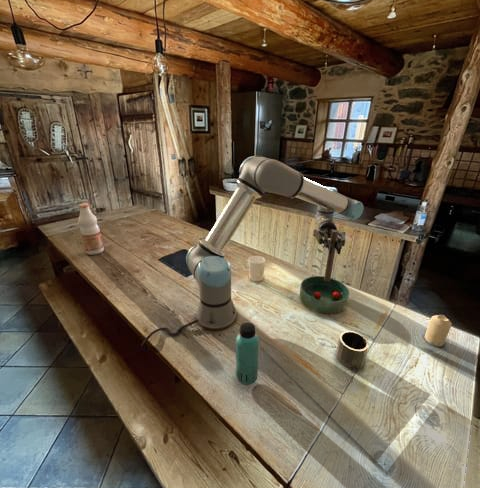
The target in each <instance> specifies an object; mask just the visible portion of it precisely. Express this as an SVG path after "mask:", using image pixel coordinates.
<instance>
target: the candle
mask: <svg viewBox="0 0 480 488" xmlns="http://www.w3.org/2000/svg"><path fill="white" fill-rule="evenodd" d="M452 325H453V324H452V322H451V320H450V319H448V318H447V316H445V315H444V314H438V315H437V314H435V315H433V316H431V318H430V321H429V324H428V326H427V329H426V332H425V334H424V340H425V341H426V342H427V343H428V344H429V345H432V346H435V347H443V346H444V344H445V342H446V339H447V337H448V336H449V332H450V330H451V327H452Z"/></svg>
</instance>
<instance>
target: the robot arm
mask: <svg viewBox="0 0 480 488" xmlns="http://www.w3.org/2000/svg"><path fill="white" fill-rule="evenodd" d="M238 172H239V175H238V178H237V180H236V188H235V191H234V192H233V193H232V195H231V197H230V198H229V200H228V201H227V203H226V205H225V207H224V209H223V210H222V211H221V214H220V215H219V217H218V218H217V219H216V222H215V223H214V225H213V226H212V228H211V229H210V231H209V233H208V234H207V236H206V237H205V238H204V239H200V241H199V242H198V243H197V244H196V245H193V246H191V248H189V250H188V251H187V254H186V257H185V260H186V261H185V263H186V266H187V269H188V270H189V272H190V273H191V274H192V276H193V278H194V279H195V282H196V283H197V285H198V289H199V303H198V306H197V309H196V314H195V317H196V319H195V320H193V321H191V322H189V323H186V324H184V325H182V326H180V327H179V328H178V329H177V331H176V332H172V331H171V330H170V329H169V328H168V327H165V326H164V327H159V328H157V329H154V330H153V331H151V332H150V333H149V334H148V335H147V336H146V337H145V339H144V340H143V341H142V343H141V346H142V347H143V346H145V345H146V343H147V342H148V341H149V339H150V338H151V337H152V336H153V335H154V334H155V333H157V332H160V331H166V332H167V333H168V334H169V335H170V336H172V337H175V336H177V335H179V334H180V333H181V331H182V330H183V329H185V328H187V327H189V326H191V325H194V324H196V323H198V325H199V326H201V327H202V328H204V329H207V330H211V331H221V330H224V329H227V328H229V327H230V326H231V325H233V324H234V323H235V322H236V319H237V310H236V306H235V304H234V302H233V299H232V268H231V264H230V262H229V261H228V260H227V259H226V258H225V257H226V253H225V252H226V251H225V249H226V248H227V246H228V244H229V243H230V241H231V240H232V238H233V236H234V235H235V233H236V232H237V230H238V228H239V227H240V225H241V223H242V222H243V220H244V219H245V217H246V215H247V214H248V212H249V211H250V209H251V208H252V206H253V204H254V202H255V201H256V200H257V199H261V198H263V196H264V194H265V192H266V193H271V194H275V195H278V196H283V197H287V198H289V199H294V198H296V199H300V200H302V201H305V202H307V203H309V204H312V205H316V206H317V210H316V214H315V218H314V221H315V223H316V226H317V229H313V232H312V236H313V237H315V240H316V241H317V243H318V244H319V245H323V248H325V249H327V251H329V253H330V254H331V253H332V244H331V241H330V239H331V232H332V230H338V228H337V225H336V223H335V221H334V215H335V213H336V214H338V215H341V216H343V217H346V218H347V219H351V220H356V219H358V218H360V217H361V216H362V215H363V212H364V209H365V208H364V204H363V202H361V201H360V200H359V201H358V200H357V199H353V198H351V197H348V196H345V194H344V195H343V194H341V193H339V192H338V189H337V188H336V187H331V186H323V185H321V184H320V183H317V182H315V181H312V180H310V179H308V178H306V177H304V174H303V173H302V172H300V171H298V170H296V169H294V168H292V167H290V166H288V165H287V164H285V163H283V162H281V161H279V160H277V159H274V158H273V159H272V158H268V157H265V156H261V155H252V156H248V157H247V158H245V159H244V160H243V161H242V163H241V164H240V167H239V170H238ZM345 245H346V231H341V232H340V231H339V230H338V237H337V243H336V249H335V251H336V253H337V255H341V251H342V249H343V247H345Z"/></svg>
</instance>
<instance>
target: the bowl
mask: <svg viewBox="0 0 480 488" xmlns="http://www.w3.org/2000/svg"><path fill="white" fill-rule="evenodd" d="M324 277H325V275H314V276H309V277H305V279H303V280H302V281H301V282H300V288H299V299H300V302H301V303H302V304H303V305H304V306H305V307H307V308H308V309H309V310H312V311H314V312H317V313H320V314H327V315H328V314H330V315H332V314H338V313H341V312H343V311H345V310H346V308H347V306H348V302H349V297H350V290H349V289H348V287H347V285H345V284H344V283H343V282H342V281H340V280H338V279H335V278H333V277H331V278H330V282H325V281H324ZM315 292H319V293H320V294H321V298H320V299H315V298H314V293H315ZM334 292H338V293H339V294H340V298H339V299H334V298H333V296H332V295H333V293H334Z"/></svg>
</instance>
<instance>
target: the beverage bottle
mask: <svg viewBox="0 0 480 488" xmlns="http://www.w3.org/2000/svg"><path fill="white" fill-rule="evenodd" d="M239 328H240V329H239V333H238V334H237V336H236V338H235V344H236V345H235V376H236V380H237V381H238V382H239V383H240V385H243V386H251V385H253V384H255V383H256V381H257V380H258V377H259V376H258V374H259V343H260V338H259V336H258V335H257V334H256V326H255V325H254V324H253V323H252V322H243V323H242V324H240V327H239Z"/></svg>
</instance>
